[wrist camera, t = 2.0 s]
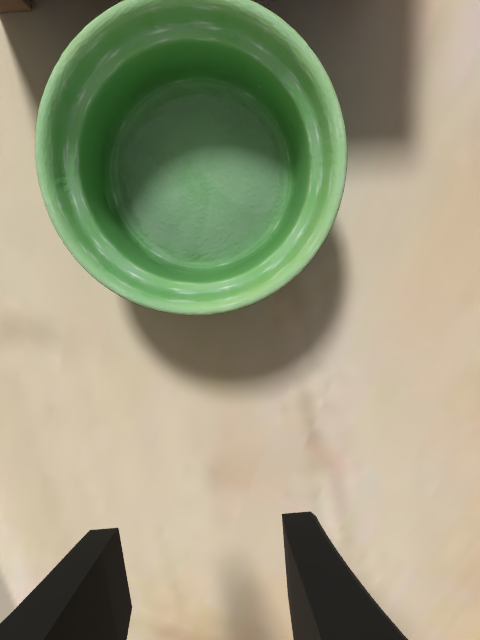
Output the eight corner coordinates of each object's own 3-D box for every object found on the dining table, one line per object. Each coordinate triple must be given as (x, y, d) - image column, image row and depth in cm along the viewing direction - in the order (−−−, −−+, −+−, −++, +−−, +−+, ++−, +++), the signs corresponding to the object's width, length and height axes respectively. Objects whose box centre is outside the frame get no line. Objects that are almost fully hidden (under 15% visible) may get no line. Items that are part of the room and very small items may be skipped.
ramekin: (367, 181, 17) (413, 167, 12) (203, 338, 18) (193, 374, 14) (202, -10, 15) (189, -102, 11) (36, 176, 16) (-34, 160, 12)
